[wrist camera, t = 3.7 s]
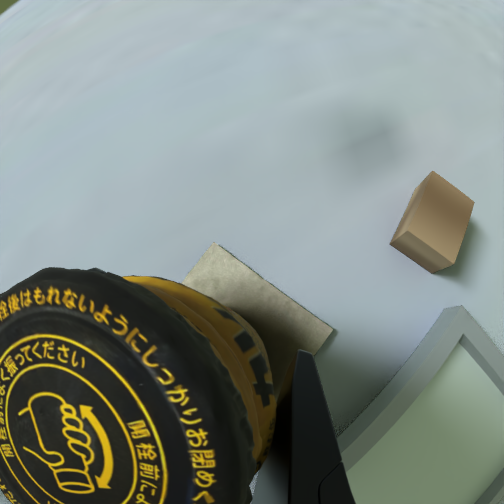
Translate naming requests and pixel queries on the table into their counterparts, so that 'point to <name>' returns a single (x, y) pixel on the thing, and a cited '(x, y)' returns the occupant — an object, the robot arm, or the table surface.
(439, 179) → the tan block
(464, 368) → the holder
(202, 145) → the table surface
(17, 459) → the condiment
